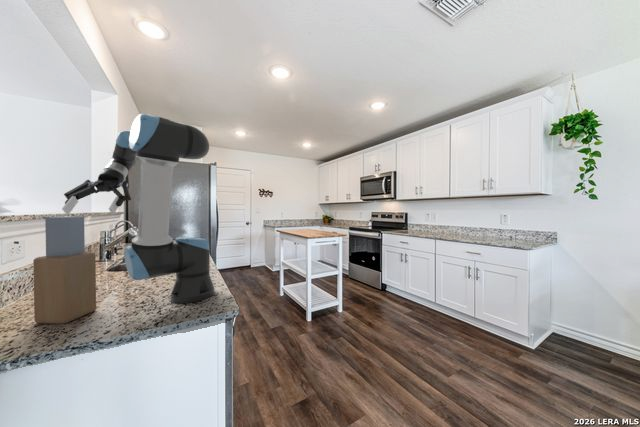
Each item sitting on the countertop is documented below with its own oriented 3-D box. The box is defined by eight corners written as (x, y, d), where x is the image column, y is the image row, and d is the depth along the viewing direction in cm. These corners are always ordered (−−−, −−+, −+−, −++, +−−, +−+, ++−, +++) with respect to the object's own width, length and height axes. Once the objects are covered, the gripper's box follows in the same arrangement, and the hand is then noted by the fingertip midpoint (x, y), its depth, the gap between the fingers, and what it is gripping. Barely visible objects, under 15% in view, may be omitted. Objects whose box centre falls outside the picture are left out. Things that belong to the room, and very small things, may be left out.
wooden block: (69, 310, 79) (68, 251, 79) (97, 310, 79) (97, 251, 79) (32, 324, 69) (31, 257, 69) (64, 325, 69) (63, 257, 69)
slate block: (84, 252, 78) (84, 216, 77) (70, 255, 72) (69, 217, 72) (62, 253, 76) (61, 216, 76) (45, 256, 70) (45, 217, 70)
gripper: (150, 183, 104) (133, 218, 89) (82, 181, 97) (51, 218, 83) (144, 169, 98) (125, 204, 84) (71, 166, 92) (37, 203, 78)
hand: (88, 211), depth 84 cm, fingers open, 13 cm apart
